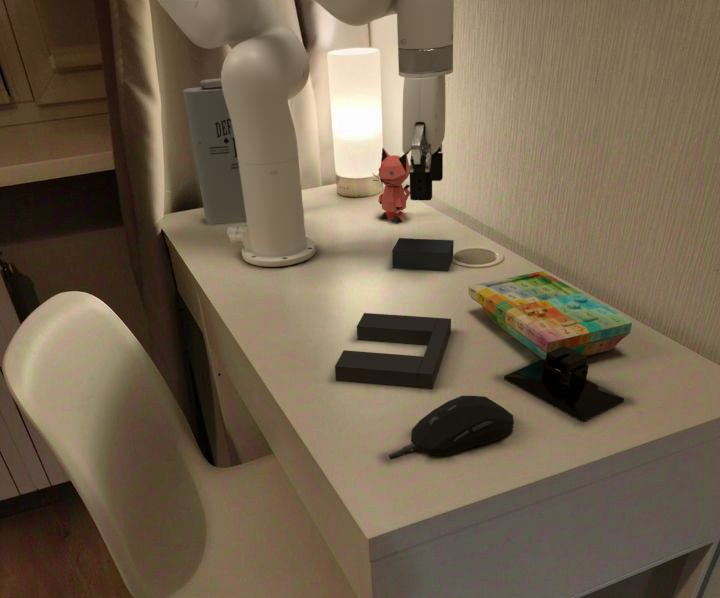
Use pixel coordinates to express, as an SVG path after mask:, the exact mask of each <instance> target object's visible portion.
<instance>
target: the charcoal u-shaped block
mask: <svg viewBox="0 0 720 598" xmlns="http://www.w3.org/2000/svg"><path fill="white" fill-rule="evenodd" d="M451 331H452V318H448V317H447V318H445V317H431V316H419V315H416V316H415V315H402V314H387V313H385V314H384V313H373V312H363V314H362V316H361V318H360V320H359V321H358V323H357V325H356V337H357V338H356V339H357V340H358V341H368V342H369V341H370V342H382V343H394V344H395V343H396V344H397V343H398V344H409V345H411V344H412V345H423V346H427V347H426V349H425V352H424V355H423V356H422V355H410V354H398V353H397V354H396V353H386V352H385V353H383V352H371V351H358V350H347V349H346V350H345V349H344V350H343V351H342V352H341V354H340V356H339V358H338V360H337V362H336V363H335V365H334V372H335V373H334V374H335V380H336V381H343V382H352V383H353V382H354V383H362V384H363V383H365V384H376V385H388V386H398V387H408V388H420V389H421V388H422V389H433V387H434V386H435V385H434V384H435V381H436V378H437V376H438V372H439V370H440V366H441V363H442V360H443V357H444V354H445V351H446V348H447V345H448V342H449V338H450V336H451V334H452V333H451Z"/></svg>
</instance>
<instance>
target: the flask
mask: <svg viewBox="0 0 720 598" xmlns="http://www.w3.org/2000/svg"><path fill="white" fill-rule="evenodd" d="M221 73H222V71H220V74H221ZM213 84H214V85H213ZM215 84H222V83H221V77H218V78H211V79H209V78H208V79H202V80H201V81H200V83H199V85H200V87H199V86H198V87H188V88H185V89H183V90H182V94H183V99H184V104H185V105H184V106H185V108H186V115H187V122H188V126H189V132H190V138H191V143H192V148H193V149H192V150H193V156H194V160H195V166H196V172H197V178H198V185H199V189H200V195H201V200H202V207H203V212H204V218H205V222H206V224H214V225H215V224H216V225H217V224H228V223H229V224H231V223H239V222H247V220H246V213H245V206H244V199H243V191H242V184H241V177H240V170H239V163H238V158H237V151H236V144H235V138H234V132H233V127H232V123H231V119H230V115H229V111H228V108H227V105H226V102H225V98H224V94H223V90H222V85H216V86H215ZM207 85H213V86H207Z"/></svg>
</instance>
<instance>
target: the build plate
mask: <svg viewBox="0 0 720 598" xmlns="http://www.w3.org/2000/svg"><path fill="white" fill-rule="evenodd" d="M588 359H589V357H588V356H585V355H582V354H580V353H578V352H576V351H574V350H572V349H570V348H568V347H566V346H562V347H560V348H557V349H555V350H553V351H551V352H548V353H547V354H546V359H544V360H543V359H542V358H540V359H539V360H537V361H535V362H532V363H530V364H528V365H526V366H523V367H521V368H519V369H517V370H514V371H512V372H510V373H507V374H505V375H503V380H505V381H506V382H508V383H510V384H512V385H513V386H516V387H517V388H519V389H521V390H523V391H524V392H526V393H528V394H530V395H532V396H533V397H536V398H537V399H539V400H541V401H542V402H545V403H546V404H548V405H550V406H551V407H554V408H555V409H557V410H559V411H561V412H562V413H564V414H566V415H568V416H569V417H571V418H573V419H575V420H577V421H579V422H581V423H585V422H587V421H589V420H591V419H593V418H595V417H596V416H599V415H601V414H602V413H605V412H606V411H608V410H611V409H612V408H614V407H616V406H618V405H620V404H622V403H624V402H625V397H622V396H620V395H618V394H616V393H614V392H613V391H610V390H608V389H606V388H604V387H603V386H600V385H599V384H597V383H594V382H592V381H591V380H588V379H587V378H588V374H589V373H588V372H589V364H587V363H588Z"/></svg>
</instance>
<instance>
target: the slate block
mask: <svg viewBox="0 0 720 598" xmlns="http://www.w3.org/2000/svg"><path fill="white" fill-rule="evenodd" d="M454 243H455V241H454V240H453V239H433V238H432V239H431V238H412V237H411V238H409V237H408V238H407V237H399V238H398V239H397V240H396V242H395V244H394V246H393V248H392V249H391V259H392V260H391V263H392V265H391V267H392V269H396V270H415V271H417V270H420V271H435V272H436V271H437V272H449V270H450V268H451V264H452V262H453V260H454V246H455V245H454Z"/></svg>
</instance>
